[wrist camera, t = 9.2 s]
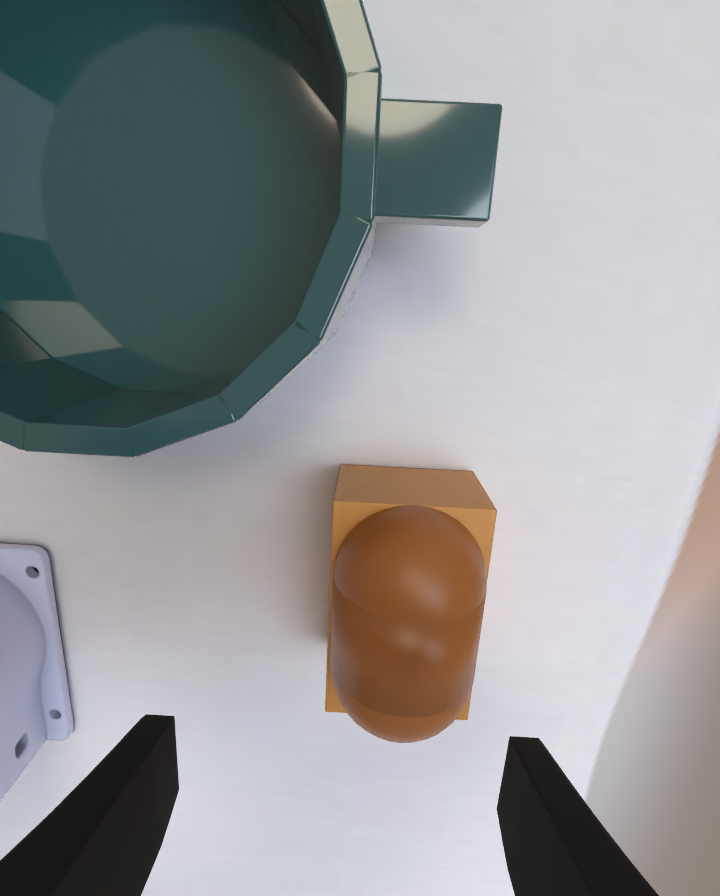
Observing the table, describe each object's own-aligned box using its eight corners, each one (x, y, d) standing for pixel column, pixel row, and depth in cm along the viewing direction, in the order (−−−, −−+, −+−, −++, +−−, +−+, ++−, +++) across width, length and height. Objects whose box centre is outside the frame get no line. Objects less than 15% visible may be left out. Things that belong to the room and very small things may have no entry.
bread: (451, 650, 20) (482, 786, 15) (333, 643, 20) (317, 775, 15) (473, 471, 18) (521, 547, 12) (340, 463, 18) (325, 536, 12)
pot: (438, 426, 18) (466, 476, 12) (-103, 396, 18) (-303, 433, 13) (488, -81, 14) (561, -329, 8) (-216, -111, 14) (-583, -372, 8)
